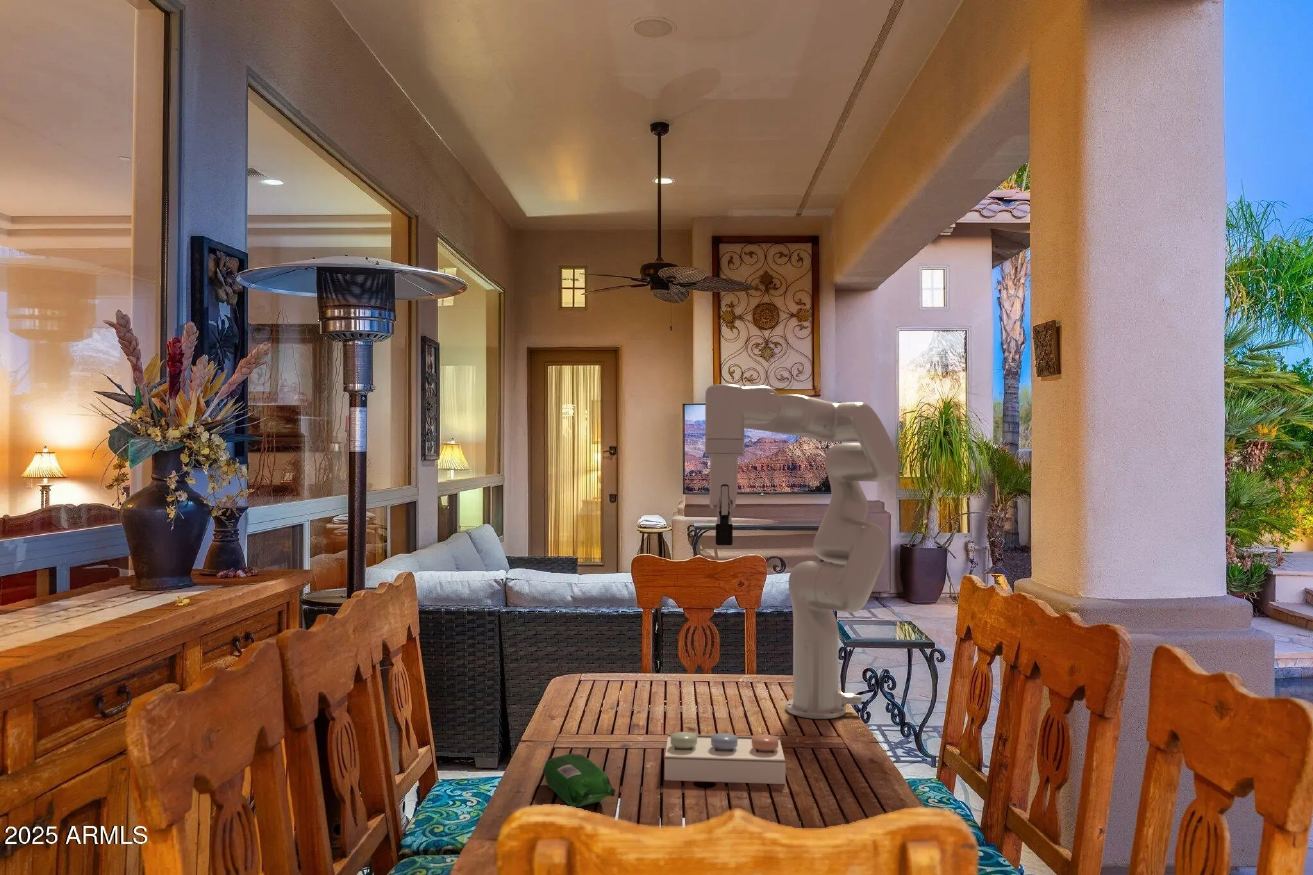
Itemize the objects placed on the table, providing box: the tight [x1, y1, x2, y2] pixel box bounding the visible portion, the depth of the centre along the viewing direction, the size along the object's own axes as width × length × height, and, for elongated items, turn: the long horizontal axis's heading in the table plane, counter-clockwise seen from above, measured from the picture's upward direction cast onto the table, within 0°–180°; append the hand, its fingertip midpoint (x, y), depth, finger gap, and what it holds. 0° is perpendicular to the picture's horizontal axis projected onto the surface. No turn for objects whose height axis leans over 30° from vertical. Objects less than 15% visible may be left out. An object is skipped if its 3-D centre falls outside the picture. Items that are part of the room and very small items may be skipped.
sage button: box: [671, 731, 697, 750], centre depth 147 cm, size 5×5×4 cm
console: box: [664, 733, 787, 785], centre depth 146 cm, size 20×12×4 cm, turn 86°
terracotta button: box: [752, 733, 778, 753], centre depth 146 cm, size 5×5×4 cm
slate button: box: [711, 732, 738, 752], centre depth 146 cm, size 5×5×4 cm
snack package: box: [542, 752, 616, 808], centre depth 134 cm, size 7×16×5 cm, turn 27°
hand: (724, 544), depth 162 cm, fingers closed
